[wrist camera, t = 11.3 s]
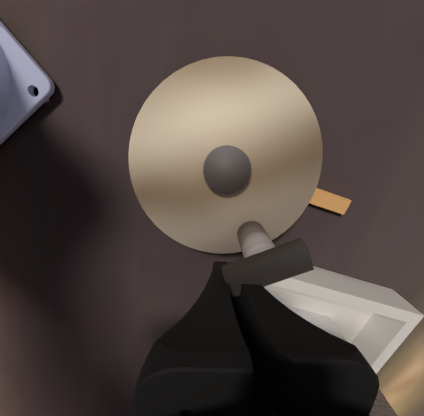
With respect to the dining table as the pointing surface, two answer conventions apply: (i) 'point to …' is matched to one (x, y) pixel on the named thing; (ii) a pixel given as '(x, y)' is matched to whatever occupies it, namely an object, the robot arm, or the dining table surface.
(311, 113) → the crank
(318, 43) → the dining table surface
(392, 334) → the tray
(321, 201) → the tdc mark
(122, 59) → the dining table surface
